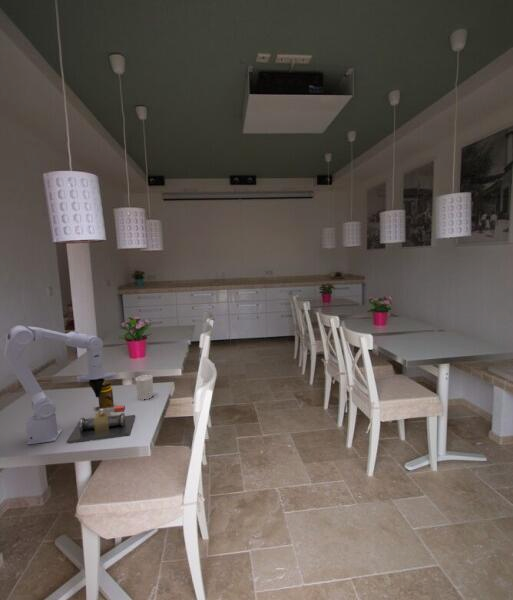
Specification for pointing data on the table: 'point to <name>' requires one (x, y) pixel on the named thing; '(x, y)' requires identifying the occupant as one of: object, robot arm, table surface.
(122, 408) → the valve lever
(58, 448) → the table surface
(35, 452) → the table surface
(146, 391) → the white cup
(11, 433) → the table surface
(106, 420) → the valve body
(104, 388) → the condiment
